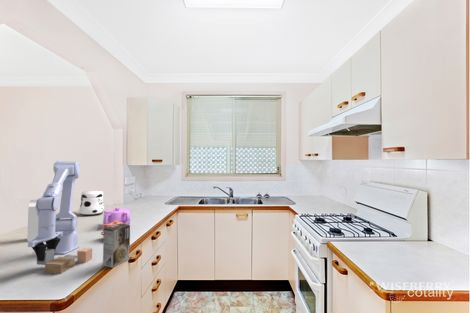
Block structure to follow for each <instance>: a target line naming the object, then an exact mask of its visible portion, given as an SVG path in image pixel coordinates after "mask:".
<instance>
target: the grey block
mask: <svg viewBox="0 0 470 313" xmlns="http://www.w3.org/2000/svg"><path fill="white" fill-rule="evenodd" d="M53 259H55V253H54V249H47V248H46V251H45V258H44V261H38V259H37V258H36V265H38V266H39V265H41V266H45V263H47V262H49V261H51V260H53Z"/></svg>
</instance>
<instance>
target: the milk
mask: <svg viewBox="0 0 470 313" xmlns="http://www.w3.org/2000/svg"><path fill="white" fill-rule="evenodd" d="M37 200H38V199H30V201H29V205H28V208H27V209H28V211H27V212H28V213H27V237H26V238H27V241H26V242H27V243H28V242H29V241H32V240H33V239H35V238H36V236H38V215H37V210H36V202H37Z"/></svg>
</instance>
